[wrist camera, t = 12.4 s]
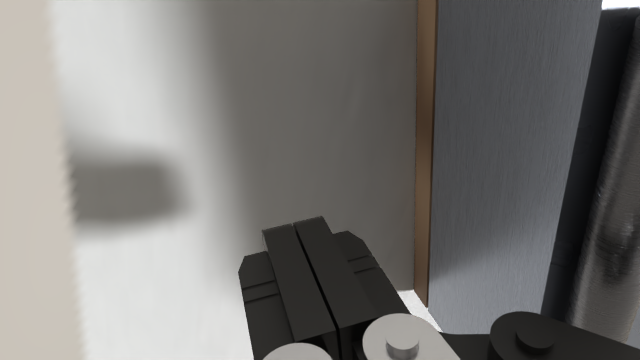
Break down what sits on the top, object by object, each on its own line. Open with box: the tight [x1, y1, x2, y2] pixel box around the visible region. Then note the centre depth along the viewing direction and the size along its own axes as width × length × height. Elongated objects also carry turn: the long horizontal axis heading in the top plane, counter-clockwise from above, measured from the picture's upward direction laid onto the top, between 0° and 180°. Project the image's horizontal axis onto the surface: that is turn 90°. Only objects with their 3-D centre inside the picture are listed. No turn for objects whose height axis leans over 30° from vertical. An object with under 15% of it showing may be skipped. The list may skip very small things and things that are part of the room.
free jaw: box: [428, 0, 640, 349], centre depth 11 cm, size 12×5×6 cm, turn 6°
